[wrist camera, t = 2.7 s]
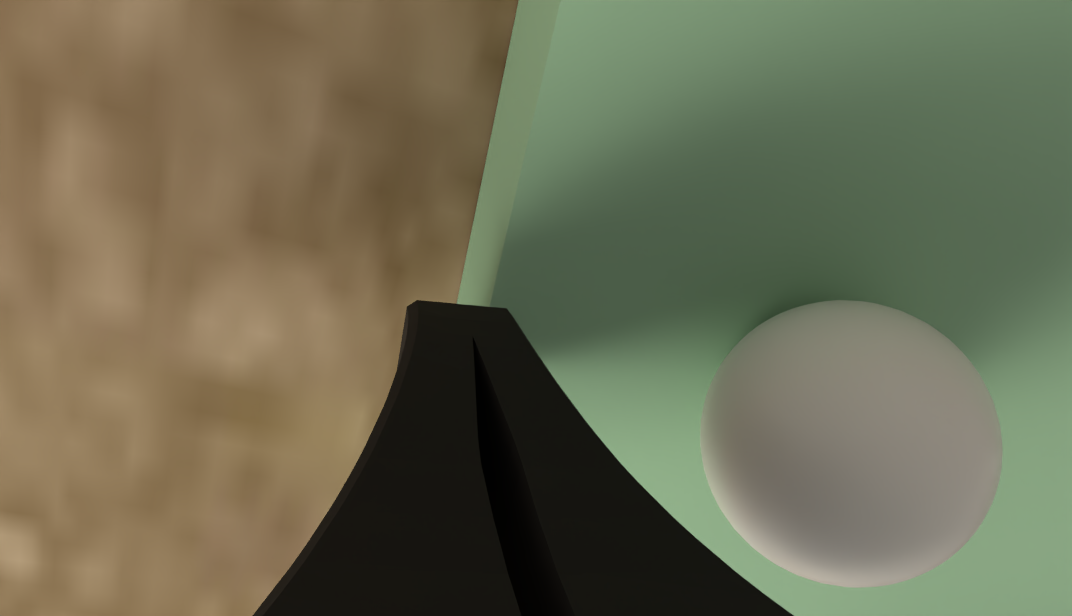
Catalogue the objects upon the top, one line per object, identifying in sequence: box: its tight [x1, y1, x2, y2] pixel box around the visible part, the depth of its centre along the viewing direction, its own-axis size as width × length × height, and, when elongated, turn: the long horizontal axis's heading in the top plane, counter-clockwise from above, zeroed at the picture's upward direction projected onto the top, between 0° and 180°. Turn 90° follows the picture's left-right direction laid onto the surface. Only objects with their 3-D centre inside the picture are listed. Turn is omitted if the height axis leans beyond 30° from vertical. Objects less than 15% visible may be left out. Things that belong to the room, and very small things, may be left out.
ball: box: [700, 300, 1003, 588], centre depth 12 cm, size 4×4×4 cm
